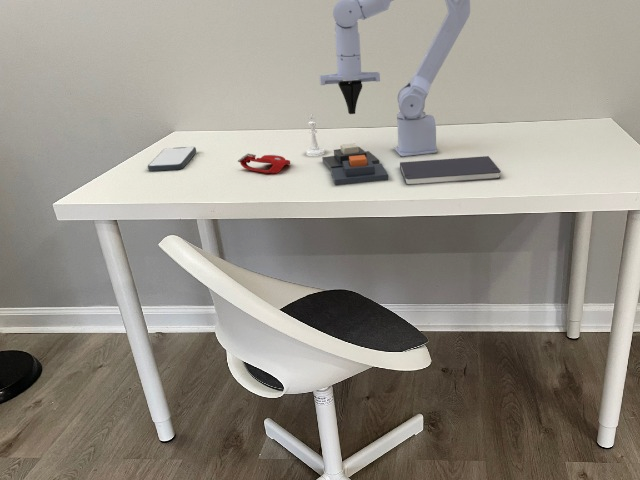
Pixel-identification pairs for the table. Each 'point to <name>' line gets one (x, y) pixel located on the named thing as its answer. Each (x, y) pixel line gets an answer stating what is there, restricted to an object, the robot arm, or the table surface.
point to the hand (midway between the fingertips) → (351, 113)
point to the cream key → (349, 148)
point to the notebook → (449, 170)
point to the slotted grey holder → (358, 173)
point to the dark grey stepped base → (345, 158)
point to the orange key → (357, 160)
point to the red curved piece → (272, 159)
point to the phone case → (172, 159)
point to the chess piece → (314, 140)
